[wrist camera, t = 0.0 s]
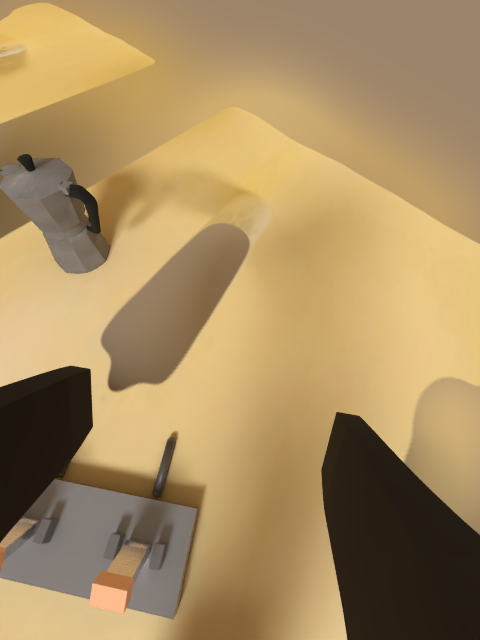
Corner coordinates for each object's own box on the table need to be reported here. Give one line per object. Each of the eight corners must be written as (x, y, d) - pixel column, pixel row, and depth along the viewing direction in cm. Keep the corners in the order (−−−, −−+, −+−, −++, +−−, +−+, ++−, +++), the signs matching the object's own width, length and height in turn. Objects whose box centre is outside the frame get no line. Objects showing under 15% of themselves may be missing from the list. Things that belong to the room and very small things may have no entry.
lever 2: (151, 557, 32) (123, 613, 25) (123, 551, 32) (88, 605, 26) (154, 539, 32) (127, 591, 25) (126, 533, 32) (92, 583, 26)
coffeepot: (35, 262, 54) (-47, 164, 38) (70, 226, 58) (9, 126, 43) (110, 290, 51) (54, 197, 35) (141, 250, 55) (103, 152, 40)
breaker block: (176, 612, 31) (170, 624, 28) (-26, 564, 33) (-54, 571, 30) (211, 445, 39) (209, 440, 36) (47, 414, 41) (31, 407, 38)
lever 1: (41, 533, 33) (-12, 581, 26) (15, 527, 33) (-44, 573, 27) (44, 516, 33) (-8, 559, 26) (18, 510, 33) (-40, 552, 27)
